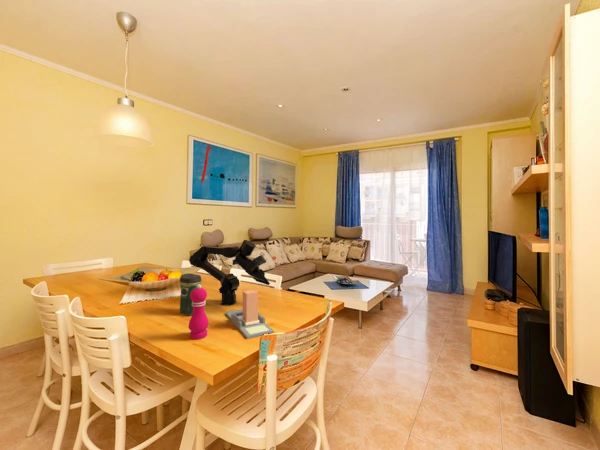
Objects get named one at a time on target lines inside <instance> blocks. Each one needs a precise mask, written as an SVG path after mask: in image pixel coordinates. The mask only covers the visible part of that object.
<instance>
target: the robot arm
mask: <svg viewBox="0 0 600 450" xmlns="http://www.w3.org/2000/svg"><path fill="white" fill-rule="evenodd" d="M256 247H257V246H256V244H255V243H254V242H252V241H250V240H247V239H243V241H242V243H241V245H240V247H239V246H238V245H233V246H228V247H222V246H212V245H211V246H210V245H203V246H201V247H200V248H199V249H198V250H196V252H194V253H193V254H191V256H190V257H189V264H190V265H191V266H192V267H195V268H198V269H202V270H203V271H204V272H206V273H208V274H209V275H210V276H212V277H213V278H214V279H216V280H217V281H219V282H220V287H219V289H218V291H219V294H221V302H220V305H223V306H233V305H234V304H236V303H237V294H236V291H238V290H239V289H238V288H239V286H240V279H239V278H238V276H237V275H235V274H233V273H225V272H224V271H222V270H221V269H220V268H218V267H217V266H215V265H214V264H213V263H211V262H209V259H208V257H209V254H210V255H219V256H222V257H224V258H228V259H232V258H234V259H232V266H235V265H238V266H239V267H240V268H242V269H243V270H244V272H245V273H246V274H248V275H249V276H250V277H252V279H253V280H255V282H257V283H261V284H264V285H267V286H269V285H271V283H270V281H269V280H268V279H267V277H266V276H265V274H266V272H265V271H264V270H263V269H262V268H260V266H261V265H264V264H266V263H267V260H266V258H265V256H264V255H263V254H261V255H259V256H256V257H255V258H254V259H251V258H249V257H250V256H251V255H252V254H253V252H254V250H255V248H256Z"/></svg>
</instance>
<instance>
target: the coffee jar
mask: <svg viewBox="0 0 600 450" xmlns="http://www.w3.org/2000/svg"><path fill="white" fill-rule="evenodd" d="M201 276H202V275H200V274H196V273H195V274H194V273H182V274H181V275H180V277H179V285H180V286H179V287H180V302H179V313H180V314H183V315H184V316H192V314H193V306H192V299H191V298H190V295H191V292H192V291H193V290H194V289H196V286H197V285H198V284H200V285H201V286H202V277H201Z"/></svg>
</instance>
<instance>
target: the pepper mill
mask: <svg viewBox="0 0 600 450" xmlns="http://www.w3.org/2000/svg"><path fill="white" fill-rule="evenodd" d="M207 297H208V292H207V290H206V289H205V288H203V287H202V284H201V285H200V284H198V285H197V286H196V289H194V290H193V291H192V292H191V295H190V298H191V299H192V306H193V314H192V315H191V317H190V319H189V322H188V329H189V330H190V331H189V338H190V339H192V340H202V339H204V338H206V337H207V336H208V328H209V324H210V323H209V319H208V317H207V314H206V311H205V306H206V302H207V301H206V299H207Z"/></svg>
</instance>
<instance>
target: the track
mask: <svg viewBox="0 0 600 450" xmlns="http://www.w3.org/2000/svg"><path fill="white" fill-rule="evenodd" d="M225 316H227V317H228V319H230V321H231V322H232V323H233V324H234V325H235V326H236V328H237V329H238V330H239V331H240V333H241V334H243V336H244V337H245V338H246V339H247V340H249V339H253V338H258V337H262V336H261V335H262V334H267V333H271V334H274V333H275V331H274V329H273V328H272V327H270V326H269V325H268V324H267V323H266V318H265V317H264V316H263V315H262V314H261V313H259V312H258V320H259V323H258V324H253V325H248V326H245V325H244V324H243V323H242V321H241V319H242V318H243V308H242V309H241V308H240V309H236V310H229V311H226V312H225ZM267 335H268V334H267Z"/></svg>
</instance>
